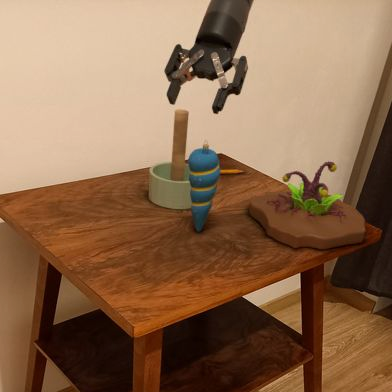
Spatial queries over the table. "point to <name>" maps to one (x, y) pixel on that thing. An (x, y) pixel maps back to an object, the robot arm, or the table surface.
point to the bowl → (169, 187)
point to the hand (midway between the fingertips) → (192, 106)
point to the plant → (308, 215)
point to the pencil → (230, 171)
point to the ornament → (202, 182)
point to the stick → (179, 145)
